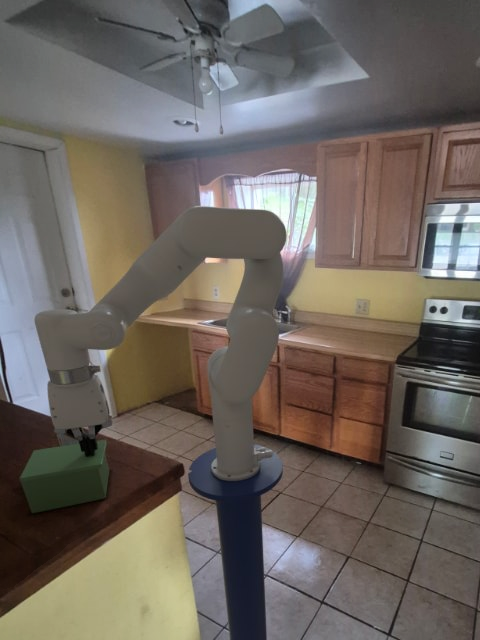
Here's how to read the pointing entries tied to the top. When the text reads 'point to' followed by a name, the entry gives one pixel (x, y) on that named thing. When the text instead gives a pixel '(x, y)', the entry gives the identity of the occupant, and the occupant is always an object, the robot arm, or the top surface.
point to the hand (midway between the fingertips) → (90, 452)
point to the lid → (62, 461)
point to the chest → (67, 489)
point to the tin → (66, 439)
